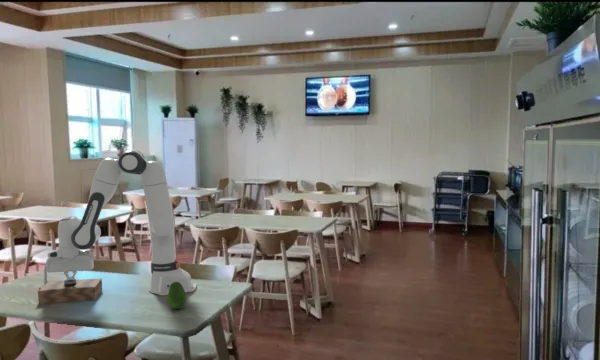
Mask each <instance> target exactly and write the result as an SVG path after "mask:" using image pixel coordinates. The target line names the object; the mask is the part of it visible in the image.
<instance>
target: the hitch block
mask: <svg viewBox="0 0 600 360" xmlns="http://www.w3.org/2000/svg"><path fill="white" fill-rule="evenodd" d="M102 291H103V279H102V278H87V279H85V278H84V279H76V284H75V285H74V286H64V280H51V281H47V283H46V284H45V285H44V284H43V285H42V288H41V289H40V290H39V289H38V290H37V297H38V305H43V304H57V303H71V302H72V303H73V302H85V301H87V302H88V301H89V302H90V301H96V299H97V298H98V297H99V296H100V294H101V293H102Z"/></svg>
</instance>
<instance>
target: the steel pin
mask: <svg viewBox="0 0 600 360" xmlns="http://www.w3.org/2000/svg"><path fill="white" fill-rule="evenodd" d="M76 280H77V279H76V278H75V280H72V281H67V279H64V280H63V281H64V286H74V285H75V284H76Z"/></svg>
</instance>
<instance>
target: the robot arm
mask: <svg viewBox="0 0 600 360" xmlns="http://www.w3.org/2000/svg"><path fill="white" fill-rule="evenodd" d="M96 168H97V169H96V171H95V173H94V176H93V178H92V183H91V187H90V191H89V196H88V202H87V205H86V208H85V210H84V213H83V216H82V218H81V219H80V218H78V217H77V216H68V217H65V218H62V219H60V221H58V225H57V238H58V241H59V242H58V248H55V249H51V250H50V251H49V252H48V253H47V257H48V258H47V259H46V262H45V265H46V271H47V274H48V273H63V274H64V276H65V277H66V280H67V281H72V280H75V279H76V278H75V277H76V274H77V273H78V272H82V271H84V272H85V271H86V272H87V271H91V270H93V269H94V267H95V264H94V253H93V251H91V250H89V249H91V248H92V247H93V246H94V244H95V243H96V242H97V241H99V238H101V235H102V229H101V227H100V226H99V225H98V224H97V223H98V221H99V217H100V215H101V212H102V210H103V208H104V207H105V206H106V205H107V203H109V202H110V200H111V199H112V198H113V197H114V195H115V193H116V191H117V190H118V189H117V188H118V186H119V183H120V179H121V177H122V175H124V174H125V173H126V174H129V175H138V176H140V178H141V181H142V188H143V194H144V198H145V202H146V207H147V212H148V217H149V223H150V224H149V226H150V248H151V261H150V262H151V263H150V273H151V277H150V278H151V280H150V285H149V292H150V293H151V294H157V295H159V296H168V293H169V288H170V285H171V284H172V283H173V282H179V283H180V284H181V285H182V287H183V289H184V291H185V293H186V294H187V293H191V292H192V293H193V292H194V291H196V289H197V283H196V282H194V281H192V277H191V274H190V272H187V271H186V270H185V269H183V268H181V262H180V260H176V247H175V246H176V245H175V243H176V242H175V232H174V230H175V227H176V220H175V216H174V210H173V206H172V201H171V198H170V193H169V192H170V191H169V187H168V184H167V178H166V173H165V170H164V168H163V166H162V164H161V163H160V162H159V161H157V160H147V159H145V156H144V154H143V153H142V152H141V151H140V150H136V149H127V150H125V151H123V152H122V153H121V154H120V155H119V157H118V158H113V157H105V158H103V159H101V161H100V163H99V165H98V166H97V167H96ZM69 272H72V275H70V274H69Z"/></svg>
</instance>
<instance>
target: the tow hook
mask: <svg viewBox="0 0 600 360" xmlns="http://www.w3.org/2000/svg"><path fill="white" fill-rule="evenodd" d="M43 278H44V279H43V286H44V285H45V284H46V283H48V272H47V271H46V264H44V269H43ZM43 286H42V287H43ZM42 287H41V286H40V287H39V288H38V290H40V289H41V288H42Z"/></svg>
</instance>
